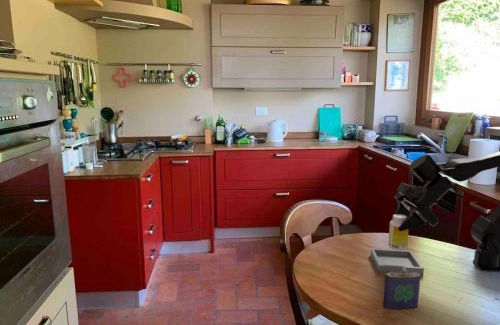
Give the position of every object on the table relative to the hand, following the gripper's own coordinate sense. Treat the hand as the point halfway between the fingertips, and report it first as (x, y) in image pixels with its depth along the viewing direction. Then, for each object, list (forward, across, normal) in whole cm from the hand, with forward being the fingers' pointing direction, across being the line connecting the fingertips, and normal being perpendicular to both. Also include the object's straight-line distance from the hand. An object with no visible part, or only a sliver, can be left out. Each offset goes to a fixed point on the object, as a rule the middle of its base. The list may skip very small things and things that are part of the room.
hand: (394, 226), depth 120 cm
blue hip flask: (+15, +24, +4) cm, 28 cm away
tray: (+8, 0, +10) cm, 13 cm away
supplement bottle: (+4, 0, +6) cm, 7 cm away
